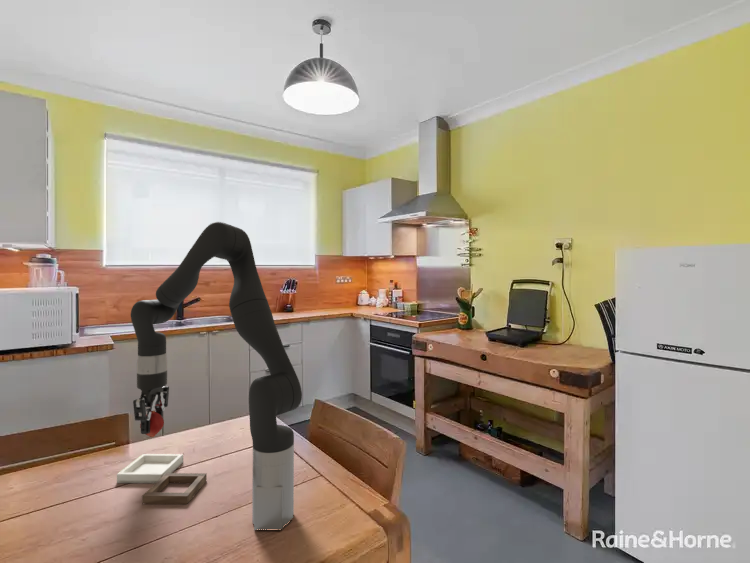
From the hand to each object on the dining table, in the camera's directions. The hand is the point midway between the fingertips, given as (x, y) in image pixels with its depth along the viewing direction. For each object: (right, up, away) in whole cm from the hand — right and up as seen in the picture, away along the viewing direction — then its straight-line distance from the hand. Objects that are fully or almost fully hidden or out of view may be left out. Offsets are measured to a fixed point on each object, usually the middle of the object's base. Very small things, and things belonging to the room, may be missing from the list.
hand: (152, 428), depth 111 cm
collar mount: (+12, -13, -10) cm, 20 cm away
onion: (0, -3, 0) cm, 3 cm away
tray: (0, -12, 0) cm, 12 cm away
